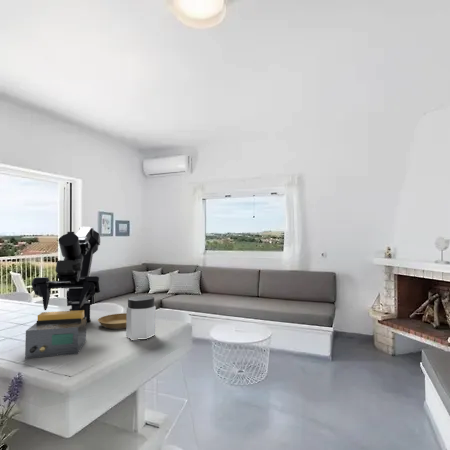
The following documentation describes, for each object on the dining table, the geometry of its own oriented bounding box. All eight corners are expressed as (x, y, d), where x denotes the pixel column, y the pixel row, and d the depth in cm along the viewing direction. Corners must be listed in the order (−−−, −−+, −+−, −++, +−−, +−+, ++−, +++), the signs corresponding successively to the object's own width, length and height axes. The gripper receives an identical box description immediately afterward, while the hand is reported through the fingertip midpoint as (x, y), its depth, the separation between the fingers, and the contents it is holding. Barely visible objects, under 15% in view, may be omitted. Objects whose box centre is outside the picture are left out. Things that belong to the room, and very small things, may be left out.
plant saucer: (116, 333, 103) (116, 325, 103) (88, 326, 111) (89, 319, 111) (149, 323, 115) (149, 316, 115) (123, 318, 123) (123, 311, 123)
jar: (156, 332, 103) (157, 295, 104) (153, 340, 95) (154, 300, 96) (128, 333, 102) (129, 295, 103) (123, 341, 94) (123, 300, 95)
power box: (40, 343, 92) (41, 316, 93) (86, 340, 95) (86, 314, 96) (23, 360, 80) (24, 328, 80) (76, 355, 83) (77, 325, 83)
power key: (42, 319, 92) (42, 312, 92) (84, 316, 95) (84, 310, 95) (37, 322, 88) (37, 315, 88) (81, 320, 91) (81, 313, 91)
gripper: (34, 250, 96) (19, 293, 84) (99, 250, 100) (93, 290, 89) (42, 274, 103) (28, 316, 92) (102, 272, 107) (97, 312, 96)
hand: (62, 308), depth 92 cm, fingers open, 9 cm apart
